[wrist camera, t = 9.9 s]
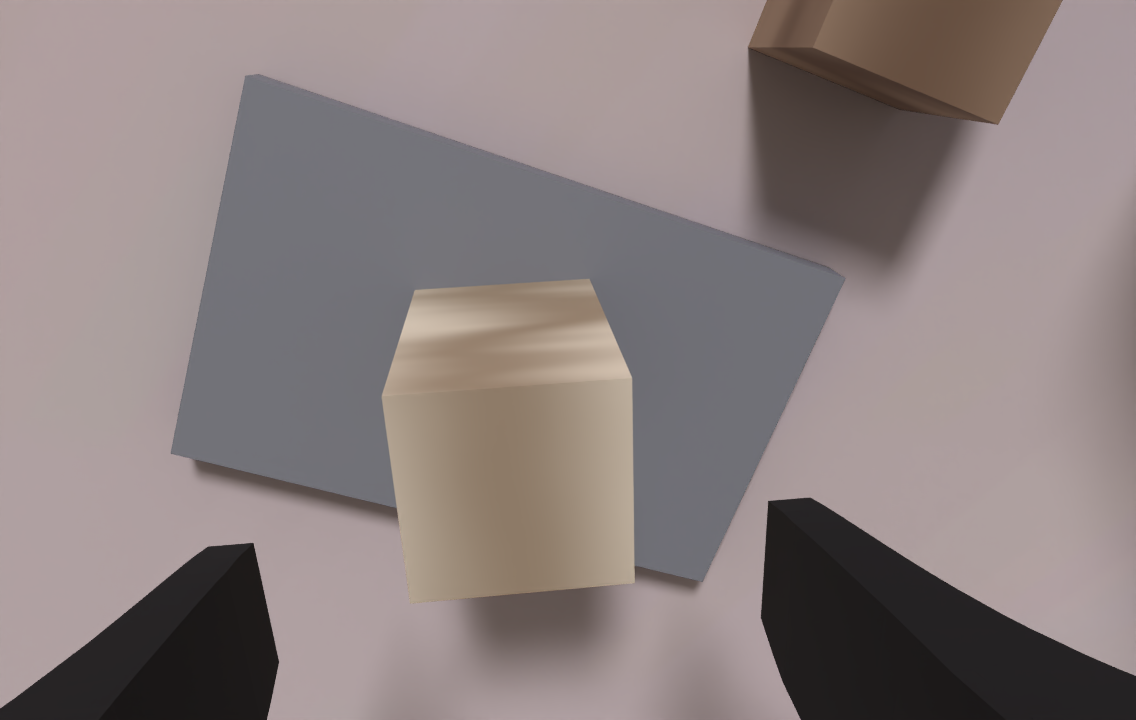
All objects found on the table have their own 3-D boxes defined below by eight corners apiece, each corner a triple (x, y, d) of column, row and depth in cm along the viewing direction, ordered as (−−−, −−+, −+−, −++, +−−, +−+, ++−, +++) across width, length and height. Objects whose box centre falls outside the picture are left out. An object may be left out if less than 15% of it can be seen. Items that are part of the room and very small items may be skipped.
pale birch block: (589, 278, 18) (631, 377, 13) (594, 433, 20) (634, 583, 14) (414, 290, 18) (381, 396, 13) (432, 446, 20) (410, 603, 14)
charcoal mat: (828, 267, 20) (845, 278, 19) (693, 560, 23) (702, 582, 22) (258, 74, 17) (245, 75, 16) (185, 435, 20) (170, 453, 19)
